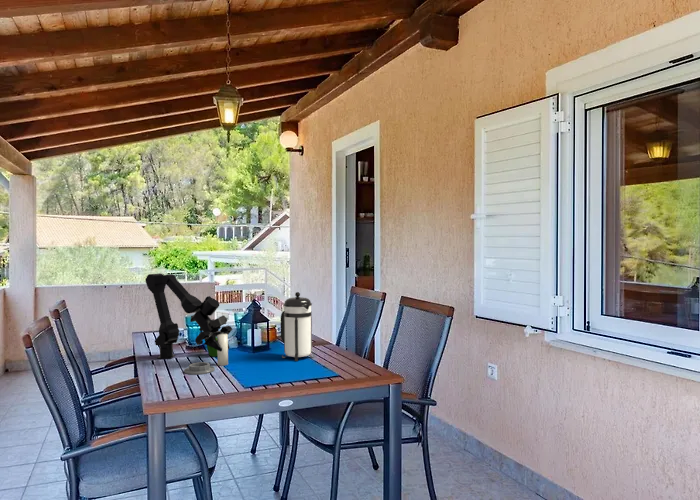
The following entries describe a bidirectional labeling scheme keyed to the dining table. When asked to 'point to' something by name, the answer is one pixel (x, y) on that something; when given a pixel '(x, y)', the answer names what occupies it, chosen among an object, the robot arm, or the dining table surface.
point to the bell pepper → (212, 351)
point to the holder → (199, 368)
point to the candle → (223, 354)
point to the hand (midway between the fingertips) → (225, 349)
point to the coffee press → (297, 327)
